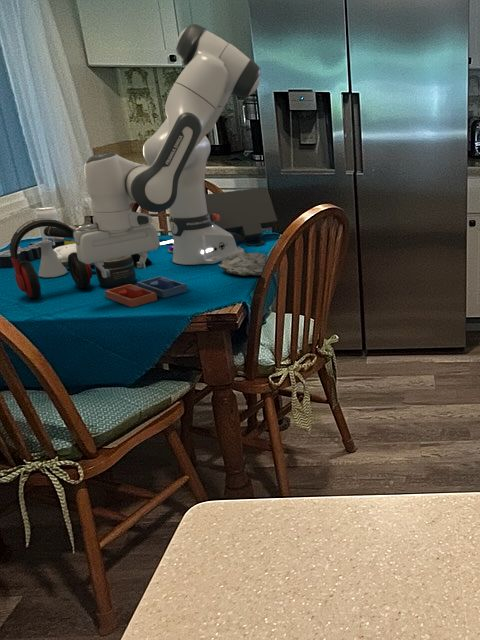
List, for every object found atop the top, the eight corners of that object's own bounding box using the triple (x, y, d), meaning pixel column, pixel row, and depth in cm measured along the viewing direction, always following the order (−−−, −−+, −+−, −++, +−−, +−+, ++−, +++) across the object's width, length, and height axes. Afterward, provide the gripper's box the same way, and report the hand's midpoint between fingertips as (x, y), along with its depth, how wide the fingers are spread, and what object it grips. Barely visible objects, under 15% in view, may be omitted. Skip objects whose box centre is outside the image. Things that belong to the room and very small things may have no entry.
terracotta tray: (106, 297, 174) (104, 290, 174) (131, 290, 180) (130, 283, 179) (131, 307, 168) (130, 300, 167) (157, 299, 173) (156, 292, 172)
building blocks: (185, 242, 222) (185, 247, 223) (164, 245, 216) (164, 250, 217) (197, 246, 219) (197, 251, 220) (176, 249, 213) (176, 254, 214)
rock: (259, 255, 207) (214, 271, 199) (256, 243, 204) (210, 258, 197) (284, 273, 195) (237, 290, 188) (281, 260, 193) (233, 277, 186)
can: (68, 241, 229) (59, 207, 224) (49, 245, 224) (40, 210, 219) (58, 238, 232) (49, 205, 227) (39, 242, 227) (30, 208, 222)
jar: (93, 283, 186) (87, 256, 183) (129, 275, 192) (124, 250, 189) (106, 290, 179) (100, 264, 176) (143, 283, 186) (137, 257, 183)
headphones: (87, 281, 187) (70, 211, 179) (99, 289, 181) (82, 217, 172) (18, 295, 176) (-4, 221, 168) (28, 304, 170) (6, 227, 161)
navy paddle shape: (177, 289, 179) (176, 279, 178) (165, 293, 176) (164, 283, 175) (160, 283, 184) (158, 274, 182) (148, 287, 181) (146, 277, 180)
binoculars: (110, 257, 210) (107, 243, 208) (57, 268, 198) (53, 253, 197) (95, 251, 216) (92, 237, 214) (43, 262, 205) (39, 247, 203)
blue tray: (138, 289, 181) (136, 282, 180) (161, 282, 186) (160, 276, 185) (163, 298, 174) (162, 291, 173) (187, 291, 179) (186, 284, 178)
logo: (47, 237, 220) (72, 239, 218) (49, 247, 221) (74, 249, 219) (-13, 255, 199) (14, 258, 197) (-10, 265, 201) (17, 268, 198)
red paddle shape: (147, 298, 172) (145, 288, 171) (134, 302, 170) (132, 291, 169) (129, 292, 177) (127, 282, 176) (117, 295, 174) (114, 285, 173)
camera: (186, 212, 230) (199, 255, 230) (194, 195, 216) (208, 241, 216) (255, 203, 243) (267, 243, 243) (266, 186, 229) (280, 229, 229)
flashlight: (48, 235, 218) (129, 241, 225) (42, 240, 214) (125, 246, 220) (46, 223, 217) (128, 229, 223) (41, 227, 212) (124, 234, 218)
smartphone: (115, 258, 208) (153, 263, 203) (114, 260, 207) (152, 264, 203) (99, 245, 201) (139, 249, 197) (98, 247, 201) (138, 251, 197)
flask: (55, 279, 189) (46, 245, 185) (33, 277, 191) (24, 243, 186) (72, 271, 196) (64, 239, 192) (52, 270, 197) (43, 237, 193)
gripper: (77, 229, 156) (90, 284, 162) (157, 215, 171) (166, 266, 177) (65, 225, 160) (78, 279, 166) (144, 212, 174) (154, 262, 180)
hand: (124, 272), depth 171 cm, fingers open, 8 cm apart
